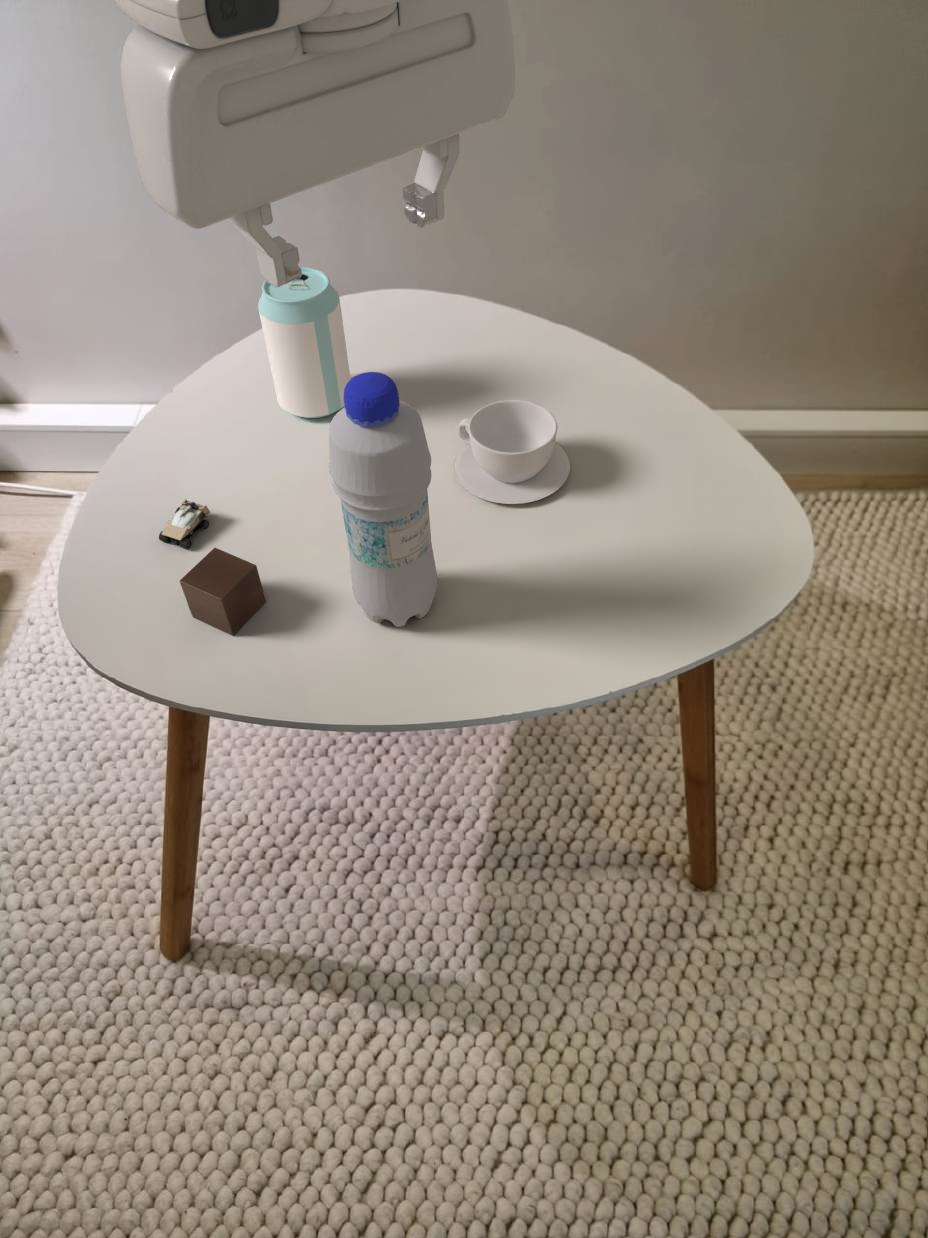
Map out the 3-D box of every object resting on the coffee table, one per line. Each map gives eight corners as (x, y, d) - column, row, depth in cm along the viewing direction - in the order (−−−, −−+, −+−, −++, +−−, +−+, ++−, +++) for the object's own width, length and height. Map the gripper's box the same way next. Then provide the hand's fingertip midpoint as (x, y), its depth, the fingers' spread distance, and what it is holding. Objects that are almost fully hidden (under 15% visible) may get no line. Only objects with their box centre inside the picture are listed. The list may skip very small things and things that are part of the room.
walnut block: (233, 636, 71) (221, 600, 68) (192, 617, 72) (178, 580, 69) (266, 601, 73) (256, 565, 70) (226, 583, 74) (214, 546, 71)
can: (265, 397, 91) (239, 280, 82) (328, 370, 93) (310, 254, 84) (302, 432, 87) (279, 314, 78) (367, 403, 89) (352, 285, 81)
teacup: (587, 452, 84) (590, 408, 80) (540, 521, 78) (542, 477, 74) (485, 423, 87) (484, 379, 83) (433, 487, 81) (430, 443, 78)
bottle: (403, 650, 69) (375, 426, 54) (335, 611, 72) (291, 387, 57) (459, 595, 73) (447, 370, 58) (392, 560, 75) (364, 336, 61)
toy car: (160, 542, 78) (153, 524, 76) (189, 512, 80) (183, 493, 79) (187, 551, 77) (180, 532, 75) (215, 519, 79) (209, 501, 78)
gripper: (458, -114, 47) (466, 172, 57) (68, -24, 38) (160, 292, 49) (546, -93, 43) (538, 207, 54) (141, 11, 35) (223, 342, 45)
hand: (356, 248), depth 51 cm, fingers open, 8 cm apart
